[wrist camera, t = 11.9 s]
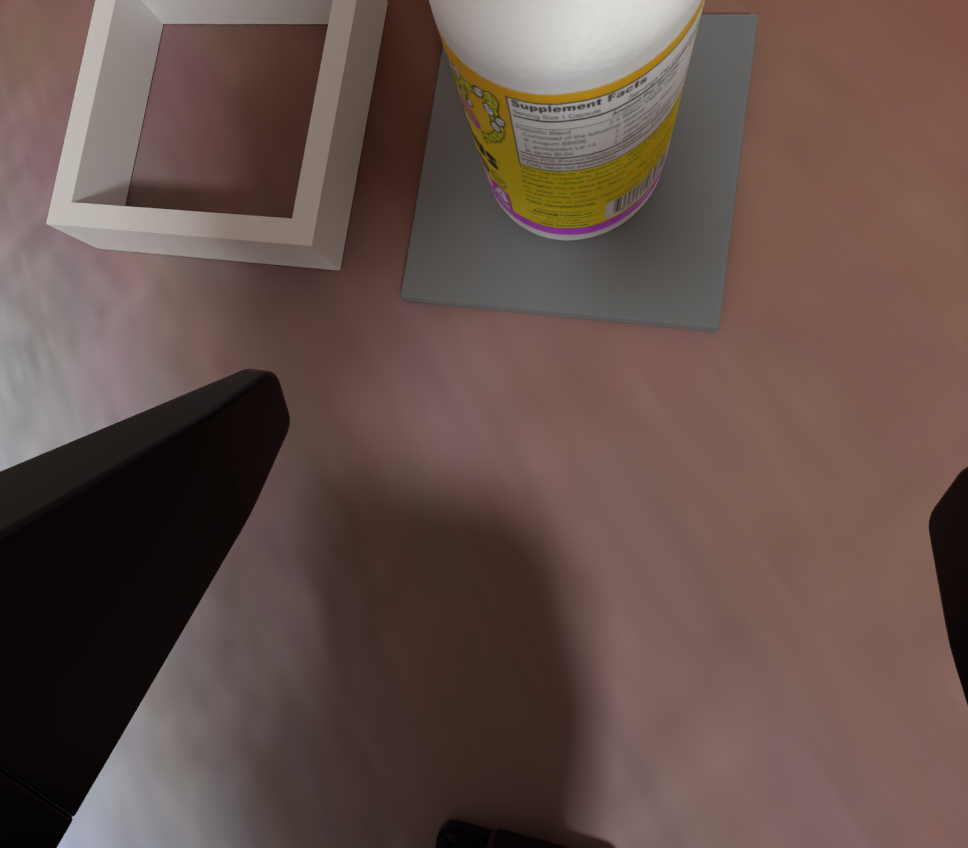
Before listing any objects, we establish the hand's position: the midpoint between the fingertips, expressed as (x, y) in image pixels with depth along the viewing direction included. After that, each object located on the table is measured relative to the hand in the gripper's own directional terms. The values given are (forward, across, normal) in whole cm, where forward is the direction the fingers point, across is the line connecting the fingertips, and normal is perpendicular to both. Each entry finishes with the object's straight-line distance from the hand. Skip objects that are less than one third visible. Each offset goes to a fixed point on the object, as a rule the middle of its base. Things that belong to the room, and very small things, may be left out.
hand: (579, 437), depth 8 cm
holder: (+18, +17, +1) cm, 25 cm away
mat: (+18, +2, +1) cm, 18 cm away
